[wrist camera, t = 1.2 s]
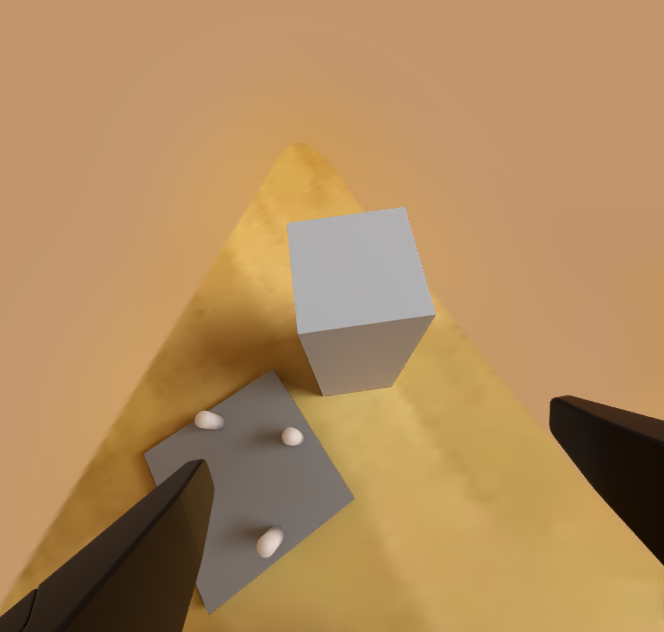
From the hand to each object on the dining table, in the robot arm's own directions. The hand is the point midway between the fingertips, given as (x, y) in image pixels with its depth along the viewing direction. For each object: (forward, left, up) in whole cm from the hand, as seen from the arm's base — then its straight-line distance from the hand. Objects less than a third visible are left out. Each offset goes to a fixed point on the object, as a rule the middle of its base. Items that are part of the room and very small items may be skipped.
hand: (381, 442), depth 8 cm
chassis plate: (-4, +6, -15) cm, 17 cm away
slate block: (+6, +3, -15) cm, 16 cm away
